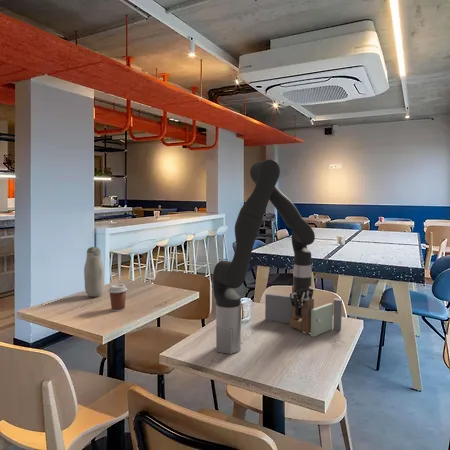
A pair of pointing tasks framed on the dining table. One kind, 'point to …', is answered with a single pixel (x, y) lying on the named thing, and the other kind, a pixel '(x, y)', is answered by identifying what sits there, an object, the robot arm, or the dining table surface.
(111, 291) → the coffee cup
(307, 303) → the wooden block
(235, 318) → the robot arm
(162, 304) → the dining table surface
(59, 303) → the dining table surface
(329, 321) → the door
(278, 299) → the wall frame
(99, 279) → the beige bottle
